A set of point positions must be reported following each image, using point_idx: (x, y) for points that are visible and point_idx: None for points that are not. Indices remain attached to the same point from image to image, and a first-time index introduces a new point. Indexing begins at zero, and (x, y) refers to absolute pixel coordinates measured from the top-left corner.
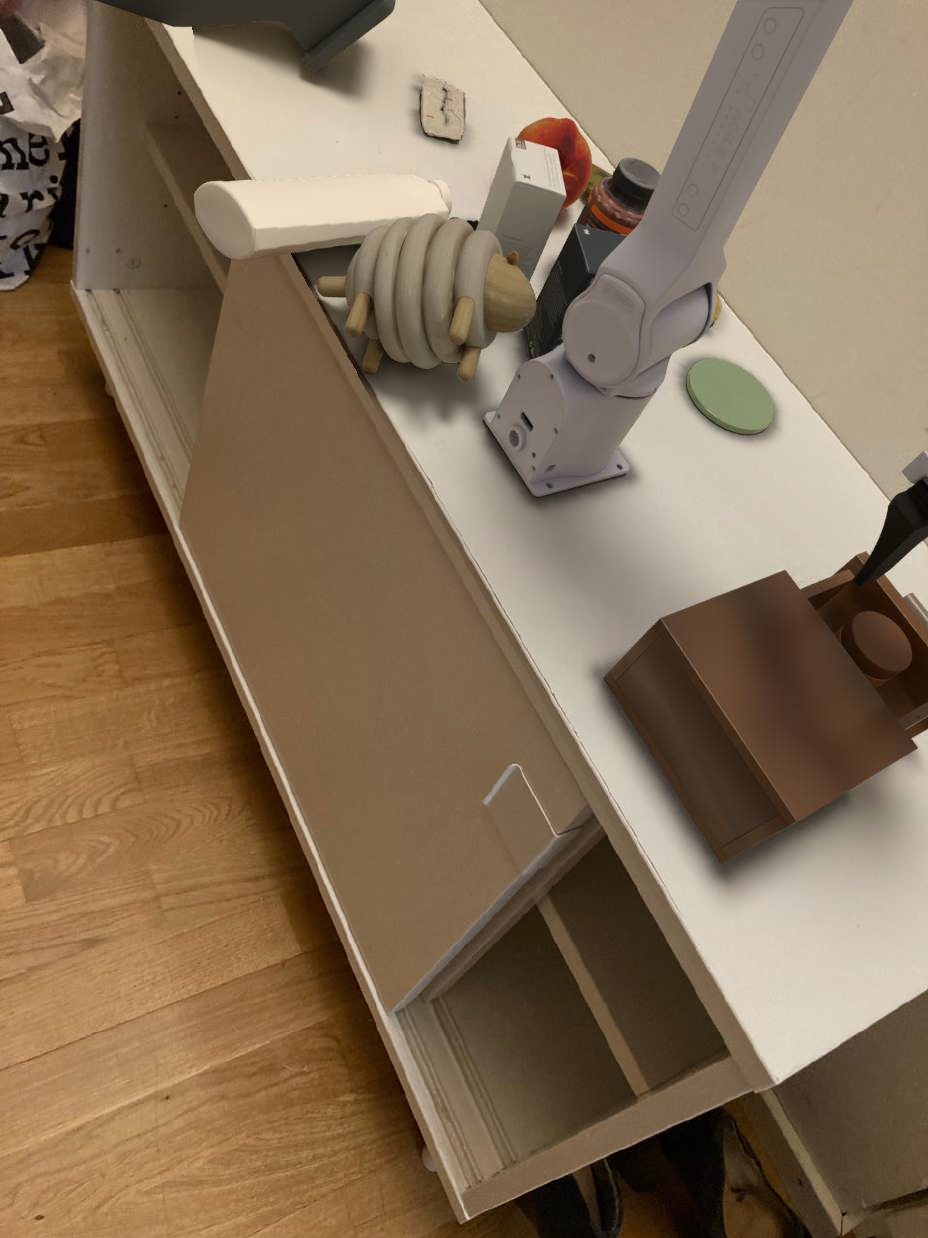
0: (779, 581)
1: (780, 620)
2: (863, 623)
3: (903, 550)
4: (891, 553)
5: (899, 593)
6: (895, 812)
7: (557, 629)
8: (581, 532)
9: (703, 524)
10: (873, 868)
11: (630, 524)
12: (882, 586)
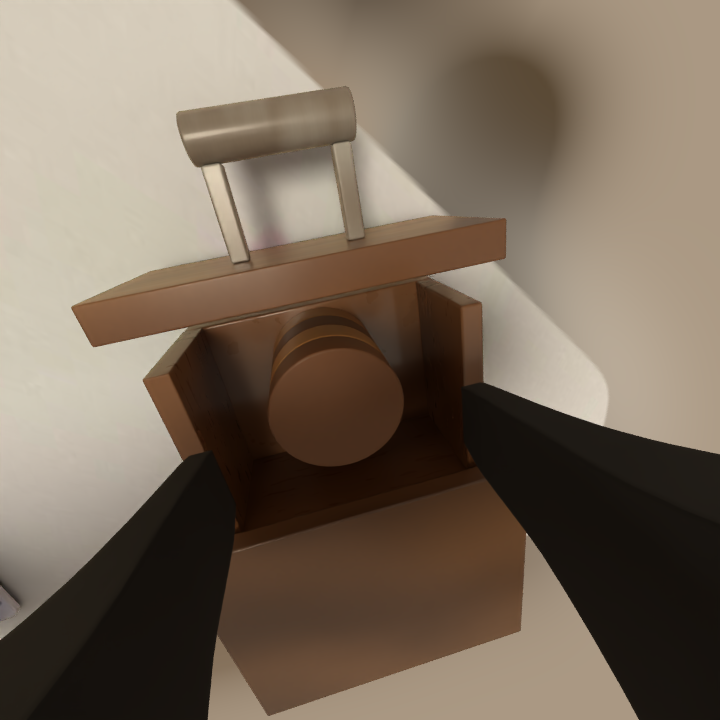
0: None
1: (283, 597)
2: (296, 436)
3: (181, 610)
4: (209, 683)
5: (215, 278)
6: (494, 313)
7: None
8: (71, 565)
9: (3, 401)
10: (525, 377)
11: (38, 509)
12: (194, 320)
